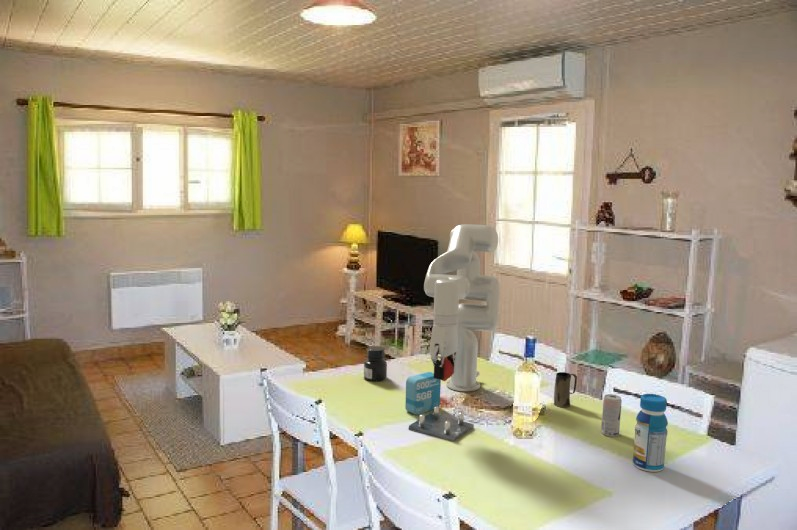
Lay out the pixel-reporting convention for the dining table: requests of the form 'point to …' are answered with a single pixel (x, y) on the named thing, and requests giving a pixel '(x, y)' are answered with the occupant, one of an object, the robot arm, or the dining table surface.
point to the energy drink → (611, 415)
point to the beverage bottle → (650, 433)
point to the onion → (447, 369)
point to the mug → (563, 389)
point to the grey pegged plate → (441, 425)
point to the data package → (422, 393)
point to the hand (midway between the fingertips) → (443, 375)
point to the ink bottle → (375, 364)
